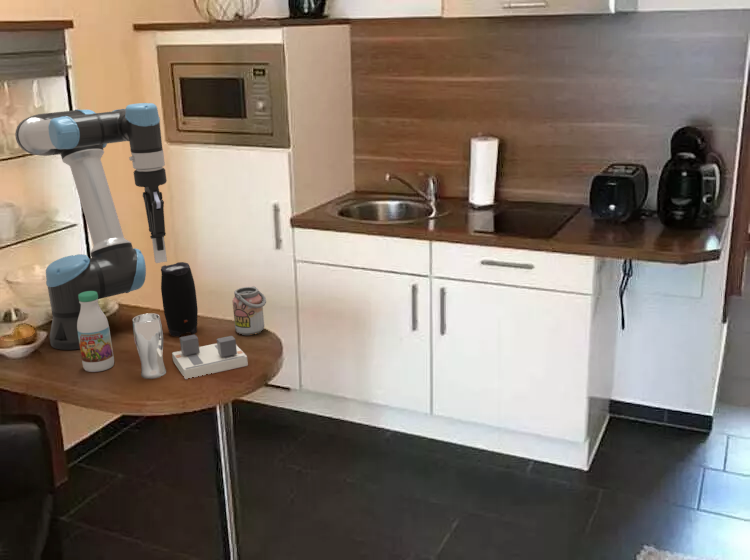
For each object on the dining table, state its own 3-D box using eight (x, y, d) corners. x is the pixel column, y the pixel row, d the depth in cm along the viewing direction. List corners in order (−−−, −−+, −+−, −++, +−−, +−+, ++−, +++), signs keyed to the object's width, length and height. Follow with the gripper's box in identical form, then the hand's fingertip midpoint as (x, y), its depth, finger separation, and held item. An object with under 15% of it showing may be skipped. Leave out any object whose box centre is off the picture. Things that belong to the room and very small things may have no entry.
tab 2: (218, 353, 211) (216, 338, 210) (233, 350, 213) (232, 335, 212) (221, 357, 209) (220, 342, 207) (236, 354, 210) (235, 339, 209)
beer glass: (139, 381, 204) (131, 324, 199) (139, 370, 210) (131, 315, 206) (168, 377, 206) (161, 320, 201) (167, 366, 212) (160, 311, 207)
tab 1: (181, 352, 213) (179, 337, 212) (196, 348, 215) (195, 334, 214) (184, 355, 211) (182, 341, 209) (199, 352, 212) (197, 338, 211)
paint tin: (273, 328, 235) (270, 287, 231) (256, 338, 228) (252, 297, 224) (247, 324, 239) (243, 284, 236) (229, 334, 232) (225, 293, 228)
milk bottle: (82, 364, 216) (71, 291, 210) (113, 358, 219) (102, 286, 213) (84, 375, 209) (71, 300, 203) (115, 369, 212) (104, 295, 206)
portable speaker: (198, 336, 232) (190, 269, 226) (164, 338, 231) (155, 271, 225) (201, 325, 240) (194, 260, 234) (169, 327, 239) (160, 262, 233)
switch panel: (173, 361, 215) (171, 352, 214) (232, 348, 221) (232, 339, 221) (185, 379, 204) (184, 369, 203) (247, 365, 210) (247, 356, 209)
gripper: (128, 166, 206) (140, 258, 213) (138, 174, 195) (151, 270, 202) (158, 163, 209) (170, 253, 216) (170, 170, 198) (182, 265, 205)
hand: (160, 261), depth 209 cm, fingers closed
